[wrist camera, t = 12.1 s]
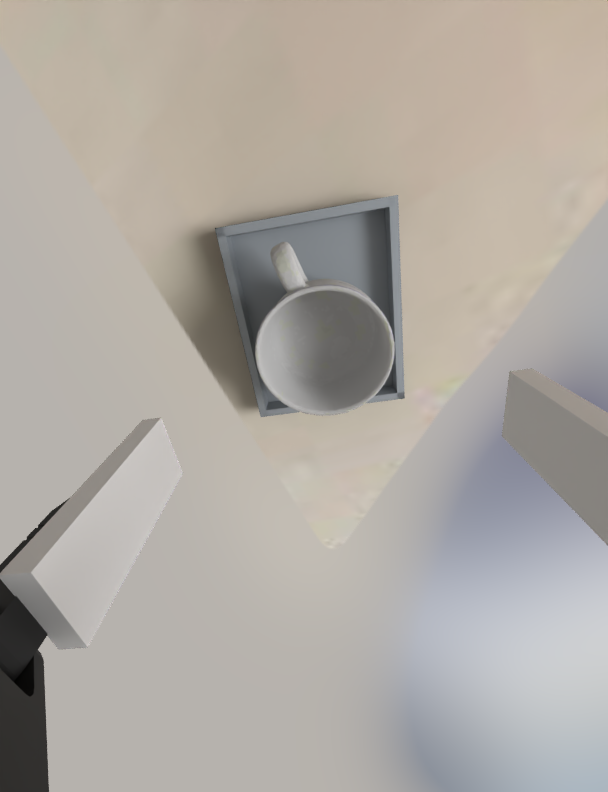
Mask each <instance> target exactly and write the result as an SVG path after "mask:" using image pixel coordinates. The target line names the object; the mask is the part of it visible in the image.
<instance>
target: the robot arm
mask: <svg viewBox="0 0 608 792" xmlns="http://www.w3.org/2000/svg"><path fill="white" fill-rule="evenodd" d="M502 437H503V438H504V439H505V440H506V441H507V442H508V443H509V444H510V445H511V446H512V447H513V448H514V449H515V450H516V451H517V452H518V453H519V454H520V455H521V456H522V457H523V458H524V460H525V461H526V462H527V463H528V464H529V465H530V466H531V467H532V468H533V469H534V470H535V471H536V472H537V473H538V474H539V475H540V476H541V477H542V478H543V479H544V480H545V481H546V482H547V483H548V484H549V485H550V486H551V487H552V488H553V489H554V491H555V492H556V493H557V494H558V495H559V496H560V497H561V498H562V499H563V500H564V501H565V502H566V503H567V504H568V505H569V506H570V507H571V508H572V509H573V510H574V511H575V512H576V513H577V514H578V515H579V516H580V517H581V518H582V519H583V520H584V522H586V524H587V525H588V526H589V527H590V528H591V529H592V530H593V531H594V532H595V533H596V534H597V535H598V536H599V537H600V538H601V539H602V540H603V541H604V542H605V543H606V544H607V545H608V413H607V412H605V411H604V410H602V409H600V408H598V407H597V406H595V405H593V404H592V403H590V402H588V401H586V400H585V399H583V398H581V397H580V396H578V395H576V394H575V393H573V392H571V391H569V390H568V389H566V388H564V387H562V386H561V385H559V384H557V383H556V382H554V381H552V380H551V379H549V378H547V377H545V376H544V375H542V374H540V373H539V372H537V371H535V370H534V369H524V370H517V371H510V372H509V380H508V389H507V397H506V405H505V414H504V423H503V432H502ZM182 474H183V472H182V469H181V467H180V464H179V462H178V459H177V457H176V454H175V452H174V449H173V446H172V444H171V441H170V439H169V436H168V434H167V431H166V429H165V426H164V423H163V421H162V418H155V419H147V420H142V421H141V422H140V423H139V425H138V426H137V427H136V428H135V429H134V430H133V431H132V432H131V433H130V434H129V435H128V436H127V438H126V439H125V440H124V441H123V442H122V443H121V444H120V445H119V446H118V447H117V448H116V449H115V450H114V451H113V452H112V454H111V455H110V456H109V457H108V458H107V459H106V460H105V461H104V462H103V463H102V464H101V465H100V466H99V468H98V469H97V470H96V471H95V472H94V473H93V474H92V475H91V476H90V477H89V478H88V479H87V480H86V481H85V482H84V484H83V485H82V486H81V487H80V488H79V489H78V490H77V491H76V492H75V493H74V494H73V495H72V497H71V498H69V499H68V500H66V501H65V502H63V503H62V504H61V505H59V506H58V507H57V508H55V509H54V510H52V511H51V512H50V513H49V515H47V517H46V518H45V519H44V520H43V521H42V522H41V523H40V524H39V525H38V528H35V529H34V530H33V531H32V532H31V533H30V534H29V535H28V536H27V540H24V541H23V542H22V543H21V544H20V545H19V546H18V547H17V548H16V549H15V550H14V551H13V552H12V553H11V554H10V555H9V556H8V557H7V558H6V559H5V561H4V562H3V563H2V564H1V565H0V792H49V784H48V760H47V737H46V713H45V712H46V710H45V686H44V665H43V664H44V661H43V658H42V655H41V653H40V652H39V651H38V648H39V647H40V645H41V644H42V642H43V641H44V639H45V638H46V636H48V637H49V638H50V639H51V641H52V642H53V643H54V644H55V645H56V647H57V648H58V649H71V648H72V649H73V648H86V647H88V646H89V644H90V642H91V641H92V639H93V637H94V635H95V633H96V631H97V629H98V628H99V626H100V624H101V622H102V620H103V619H104V617H105V615H106V613H107V611H108V610H109V608H110V606H111V604H112V602H113V600H114V599H115V597H116V595H117V593H118V591H119V589H120V588H121V586H122V584H123V582H124V580H125V578H126V577H127V575H128V573H129V571H130V569H131V568H132V566H133V564H134V562H135V560H136V558H137V557H138V555H139V553H140V551H141V549H142V547H143V546H144V544H145V542H146V540H147V538H148V536H149V535H150V533H151V531H152V529H153V527H154V525H155V524H156V522H157V520H158V518H159V516H160V515H161V513H162V511H163V509H164V507H165V505H166V504H167V502H168V500H169V498H170V496H171V494H172V493H173V491H174V489H175V487H176V485H177V484H178V481H179V480H180V478H181V476H182Z"/></svg>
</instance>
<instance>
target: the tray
mask: <svg viewBox="0 0 608 792" xmlns="http://www.w3.org/2000/svg"><path fill="white" fill-rule="evenodd" d="M215 230H216V235H217V239H218V243H219V247H220V251H221V255H222V259H223V263H224V267H225V272H226V276H227V280H228V284H229V288H230V292H231V296H232V300H233V304H234V309H235V313H236V317H237V321H238V325H239V329H240V333H241V337H242V342H243V346H244V350H245V354H246V358H247V362H248V366H249V370H250V374H251V379H252V383H253V387H254V391H255V395H256V399H257V403H258V407H259V412H260V416H261V417H265V416H273V415H280V414H288V413H296V412H300V411H297V410H294V409H292V408H290V407H288V406H287V405H285V404H284V403H282V402H281V401H280V400H278V399H277V398H276V397H275V396H274V395H273V394H272V393H271V392H270V391H269V390H268V388H267V387H266V386H265V384H264V382H263V381H262V379H261V377H260V374H259V371H258V369H257V364H256V358H255V343H256V337H257V333H258V330H259V328H260V325H261V323H262V321H263V319H264V318H265V316H266V315H267V314H268V312H269V311H270V310H271V309H272V308H273V307H274V306H275V305H276V304H277V303H278V301H279V300H280V299H281V298H282V297H283V296H284V295H285V294H286V293H287V291H286V290H285V288H284V287H283V285H282V283H281V281H280V279H279V277H278V275H277V273H276V271H275V268H274V266H273V263H272V260H271V256H270V252H271V249H272V248H273V247H274V246H276V245H277V244H279V243H281V242H288V243H289V244H290V245H291V247H292V248H293V250H294V252H295V254H296V257H297V259H298V261H299V263H300V265H301V267H302V269H303V272H304V274H305V276H306V277H307V279H308V280H309V281H312V280H317V279H335V280H340V281H344V282H347V283H349V284H351V285H353V286H355V287H357V288H358V289H360V290H361V291H362V292H364V293H365V294H366V295H367V296H368V297H369V298H370V299H371V300H372V301H373V302H374V303H375V304H376V305H377V306H378V307H379V309H380V310H381V311H382V312H383V314H384V315H385V317H386V319H387V320H388V322H389V325H390V327H391V329H392V333H393V337H394V343H395V346H394V347H395V352H394V361H393V365H392V369H391V372H390V374H389V376H388V378H387V380H386V382H385V384H384V385H383V387H382V388H381V389H380V390H379V392H378V393H377V394H376V395H375V396H374V397H373V398H372V399H370V400H369V401H368V402H366V403H372V402H380V401H388V400H395V399H403V398H404V368H403V336H402V304H401V273H400V241H399V209H398V195H395V196H390V197H384V198H379V199H373V200H368V201H362V202H357V203H351V204H346V205H340V206H335V207H329V208H324V209H318V210H313V211H307V212H302V213H297V214H291V215H286V216H280V217H275V218H269V219H264V220H258V221H253V222H247V223H242V224H236V225H231V226H225V227H220V228H215Z"/></svg>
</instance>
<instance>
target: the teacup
mask: <svg viewBox="0 0 608 792" xmlns="http://www.w3.org/2000/svg"><path fill="white" fill-rule="evenodd" d="M270 256H271V260H272V263H273V266H274V268H275V271H276V273H277V275H278V277H279V279H280V281H281V283H282V285H283V287H284V288H285V290H286V291H287V293H286V294H285V295H284V296H283V297H282V298H281V299H280V300H279V301H278V303H277V304H276V305H275V306H274V307H273V308H272V309H271V310H270V311H269V312H268V314H267V315H266V316H265V318H264V319H263V321H262V323H261V325H260V328H259V330H258V333H257V337H256V343H255V358H256V364H257V369H258V371H259V374H260V377H261V379H262V381H263V382H264V384H265V386H266V387H267V388H268V390H269V391H270V392H271V393H272V394H273V395H274V396H275V397H276V398H277V399H278V400H280V401H281V402H282V403H284V404H285V405H287V406H288V407H290V408H292V409H294V410H297V411H300V412H303V413H306V414H312V415H336V414H342V413H347V412H349V411H351V410H354V409H356V408H358V407H360V406H362V405H364V404H365V403H366V402H368V401H369V400H370V399H372V398H373V397H374V396H375V395H376V394H377V393H378V392H379V390H380V389H381V388H382V387H383V385H384V384H385V382H386V380H387V378H388V376H389V374H390V372H391V369H392V365H393V361H394V352H395V347H394V346H395V343H394V337H393V333H392V329H391V327H390V325H389V322H388V320H387V319H386V317H385V315H384V314H383V312H382V311H381V310H380V309H379V307H378V306H377V305H376V304H375V303H374V302H373V301H372V300H371V299H370V298H369V297H368V296H367V295H366V294H365V293H364V292H362V291H361V290H360V289H358V288H357V287H355V286H353V285H351V284H349V283H347V282H344V281H340V280H335V279H317V280H312V281H309V280H308V279H307V277H306V276H305V274H304V272H303V269H302V267H301V265H300V263H299V261H298V259H297V257H296V254H295V252H294V250H293V248H292V247H291V245H290V244H289V243H288V242H281V243H279V244H277V245H276V246H274V247H273V248H272V249H271V252H270Z"/></svg>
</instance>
